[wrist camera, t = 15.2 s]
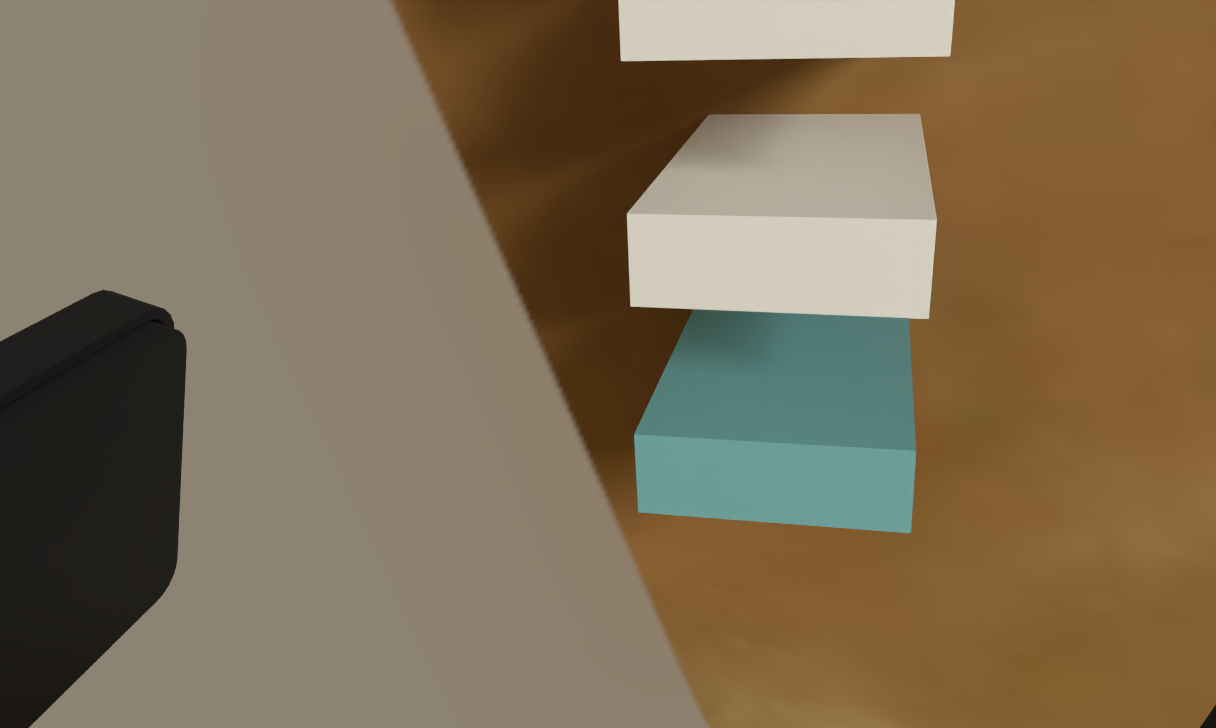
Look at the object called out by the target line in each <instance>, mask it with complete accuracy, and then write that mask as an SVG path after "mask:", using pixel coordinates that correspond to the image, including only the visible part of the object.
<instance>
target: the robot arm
mask: <svg viewBox="0 0 1216 728" xmlns="http://www.w3.org/2000/svg"><path fill="white" fill-rule="evenodd" d="M186 351H187V350H186V340H185V337H184V335H183V334H182V333H181V332H180V331H179V330H175V329H174V322H173V320H172V318H171V315H170V314H169V313H168V312H167V311H166V310H165V309H163V308H160V307H157V306H154V305H151V304H148V303H145V302H142V301H139V300H136V299H133V298H130V297H127V296H124V295H121V294H118V293H115V292H112V291H106V290H102V291H99V292H96V293H93V294H91V295H89V296H87V297H85V298H84V299H81V300H79V301H77V302H75V303H73V304H72V305H70V306H68V307H66V308H64V309H62V310H60V311H58V312H56V313H54V314H52V315H50V316H49V317H47V318H45V319H43V320H41V321H39V322H37V323H35V324H33V325H31V326H29V327H27V328H25V329H24V330H21V331H20V332H18V333H16V334H14V335H12V336H10V337H8V338H6V339H4V340H2V341H0V728H29V727H30V726H31V725H32V724H33V723H34V722H35V721H36V720H37V719H38V718H39V717H40V716H41V715H42V714H43V713H44V712H45V711H46V710H47V709H48V708H49V707H50V706H51V705H52V704H53V703H54V702H55V701H56V700H57V699H58V698H59V697H60V696H61V695H62V694H63V693H64V692H65V691H66V690H67V689H68V688H69V687H70V686H71V685H72V684H73V683H74V682H75V681H76V680H77V679H78V678H79V677H80V676H81V675H83V674H84V673H85V671H87V670H88V669H89V667H91V666H92V665H93V663H95V662H96V661H97V660H98V659H99V658H100V657H101V656H102V655H103V654H104V653H105V652H106V651H107V650H108V649H109V648H110V647H111V646H112V645H113V644H114V643H115V642H116V641H117V640H118V639H119V638H120V637H121V636H122V635H123V634H124V633H125V632H126V631H127V630H128V629H129V628H130V627H131V626H132V625H133V624H134V623H135V622H136V621H137V620H138V619H139V618H140V617H141V616H142V615H143V614H144V613H145V612H146V611H147V610H148V609H149V608H150V607H151V606H152V605H153V604H155V603H156V602H157V600H158V599H159V598H160V597H161V596H162V595H163V593H164V592H165V590H166V589H167V587H168V586H169V584H170V581H171V579H172V577H173V575H174V572H175V568H176V564H177V554H178V553H177V552H178V532H179V509H180V487H181V486H180V485H181V464H182V441H183V419H184V396H185V372H186ZM1200 728H1216V705H1215V707H1214V708H1213V710H1212V711H1211V713H1210V714H1209V715H1208V717H1207V718H1206V720H1205V721H1204V723H1203V724H1202V725H1201V727H1200Z"/></svg>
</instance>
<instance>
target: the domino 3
mask: <svg viewBox="0 0 1216 728" xmlns="http://www.w3.org/2000/svg"><path fill="white" fill-rule="evenodd" d="M634 444H635V461H636V479H637V497H638V512H640V513H653V514H666V515H679V516H692V517H705V518H719V519H732V520H745V521H758V522H771V523H784V524H797V525H811V526H824V527H837V528H850V529H863V530H876V531H889V532H903V533H911V522H912V507H913V491H914V475H915V460H916V441H915V422H914V404H913V386H912V367H911V349H910V331H909V318H894V317H870V316H846V315H822V314H798V313H774V312H750V311H726V310H702V309H693V310H692V313H691V315H690V317H689V319H688V321H687V323H686V325H685V327H684V330H683V332H682V334H681V336H680V338H679V340H678V342H677V344H676V347H675V349H674V351H673V353H672V355H671V357H670V359H669V361H668V363H667V366H666V368H665V370H664V372H663V374H662V376H661V378H660V380H659V383H658V385H657V387H656V389H655V391H654V393H653V395H652V397H651V400H650V402H649V404H648V406H647V408H646V410H645V412H644V414H643V417H642V419H641V421H640V423H639V425H638V427H637V429H636V431H635V433H634Z"/></svg>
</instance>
